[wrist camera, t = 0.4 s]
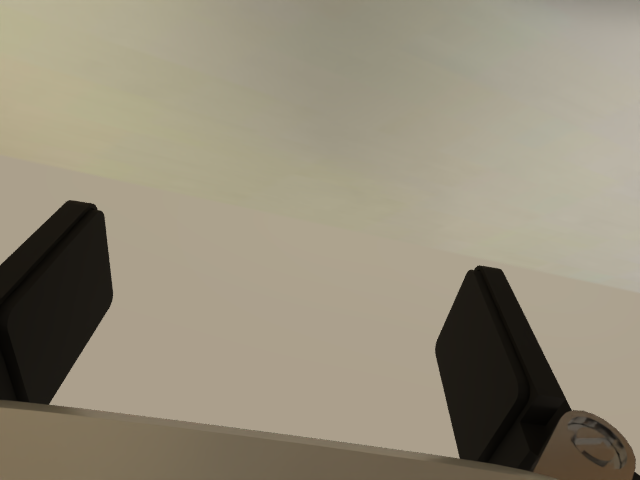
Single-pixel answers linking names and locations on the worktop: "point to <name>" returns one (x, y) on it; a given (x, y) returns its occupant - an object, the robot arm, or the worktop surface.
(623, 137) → the worktop surface
